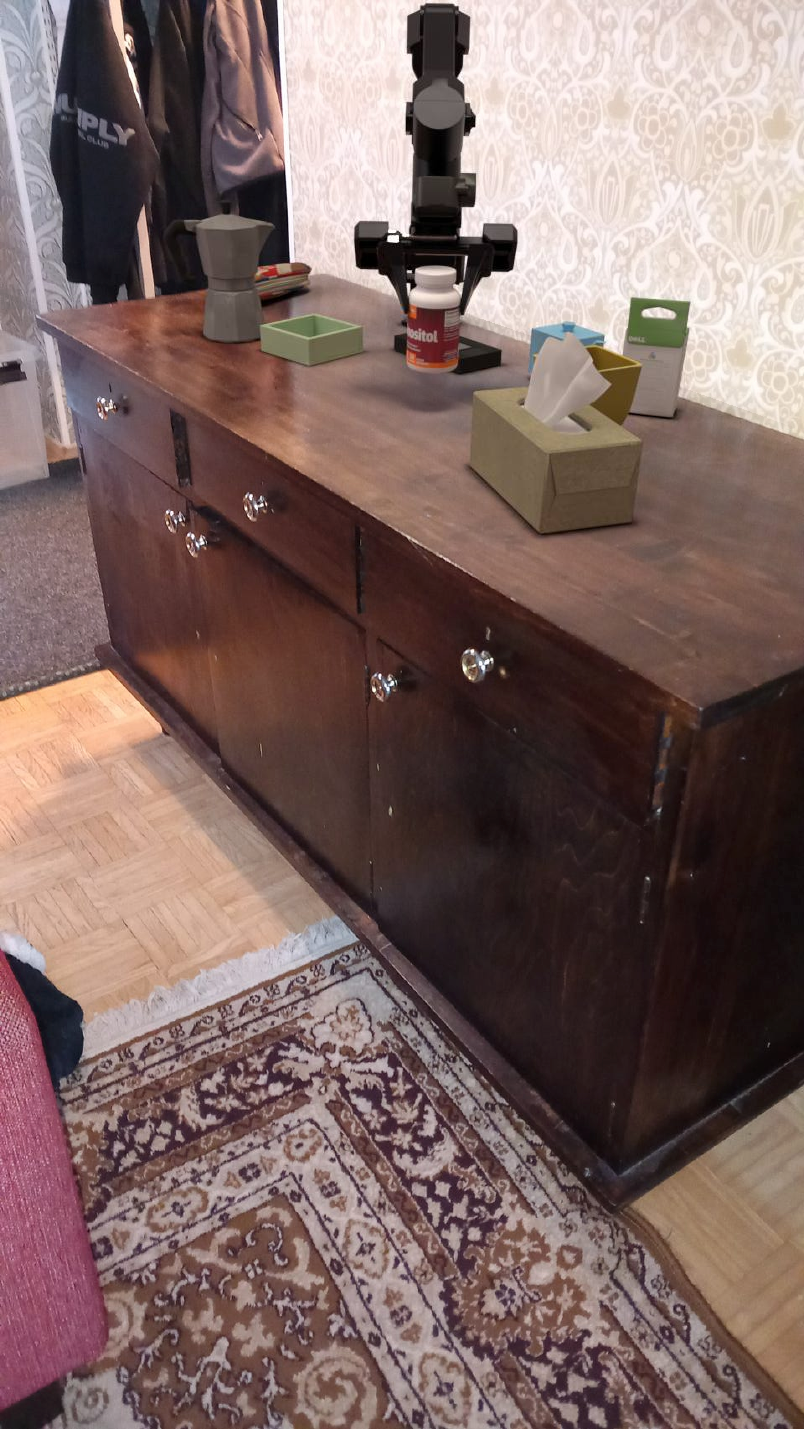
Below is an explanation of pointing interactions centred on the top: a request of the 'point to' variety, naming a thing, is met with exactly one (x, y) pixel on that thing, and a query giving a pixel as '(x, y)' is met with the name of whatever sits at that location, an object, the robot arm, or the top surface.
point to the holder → (311, 339)
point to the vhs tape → (464, 353)
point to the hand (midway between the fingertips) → (433, 313)
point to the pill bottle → (433, 321)
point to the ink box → (657, 354)
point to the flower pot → (614, 382)
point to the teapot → (562, 337)
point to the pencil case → (281, 279)
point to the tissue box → (556, 445)
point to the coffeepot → (225, 271)
